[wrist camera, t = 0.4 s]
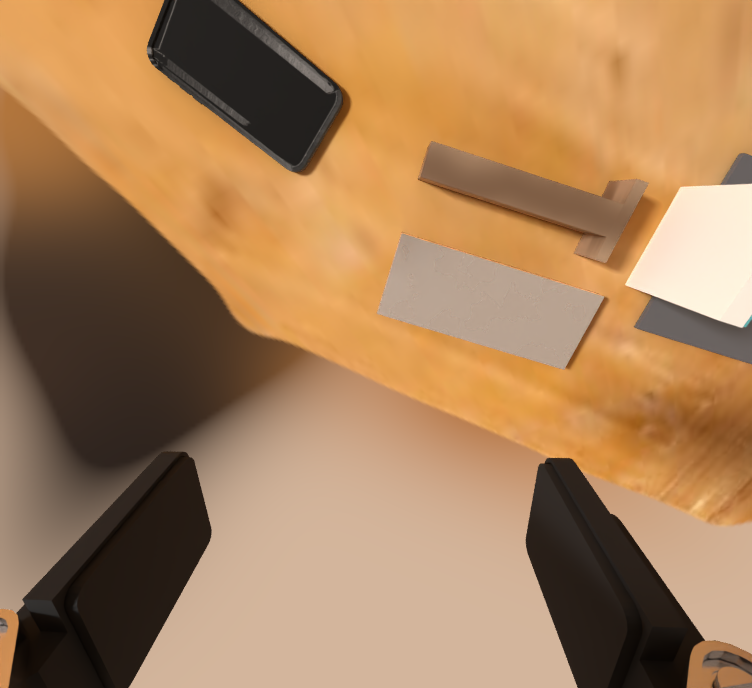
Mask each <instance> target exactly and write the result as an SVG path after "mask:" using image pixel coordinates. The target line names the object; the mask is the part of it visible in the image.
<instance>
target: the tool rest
mask: <svg viewBox="0 0 752 688" xmlns="http://www.w3.org/2000/svg"><path fill="white" fill-rule="evenodd" d="M603 299H604V296H602V295H600V294H597V293H594V292H591V291H588V290H585V289H581V288H578V287H575V286H572V285H569V284H566V283H562V282H559V281H556V280H553V279H550V278H546V277H543V276H540V275H537V274H534V273H530V272H527V271H524V270H521V269H518V268H515V267H511V266H508V265H505V264H502V263H499V262H495V261H492V260H489V259H486V258H483V257H479V256H476V255H473V254H470V253H467V252H463V251H460V250H457V249H454V248H451V247H448V246H444V245H441V244H438V243H435V242H432V241H428V240H425V239H422V238H419V237H416V236H412V235H409V234H406V233H403V232H402V233H401V236H400V239H399V242H398V246H397V249H396V252H395V255H394V259H393V262H392V265H391V268H390V271H389V275H388V278H387V281H386V284H385V288H384V291H383V294H382V297H381V301H380V304H379V307H378V310H377V314H380V315H383V316H386V317H390V318H393V319H396V320H400V321H403V322H406V323H410V324H413V325H416V326H420V327H423V328H426V329H430V330H433V331H436V332H440V333H443V334H446V335H450V336H453V337H456V338H460V339H463V340H466V341H470V342H473V343H476V344H480V345H483V346H487V347H490V348H493V349H497V350H500V351H503V352H507V353H510V354H513V355H517V356H520V357H523V358H527V359H530V360H533V361H537V362H540V363H543V364H547V365H550V366H553V367H557V368H560V369H563V370H564V369H565V367H566V365H567V364H568V362H569V360H570V358H571V356H572V355H573V353H574V351H575V349H576V347H577V346H578V344H579V342H580V340H581V338H582V337H583V335H584V333H585V331H586V329H587V328H588V326H589V324H590V322H591V320H592V319H593V317H594V315H595V313H596V311H597V310H598V308H599V306H600V304H601V302H602V301H603Z"/></svg>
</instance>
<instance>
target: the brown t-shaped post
mask: <svg viewBox="0 0 752 688" xmlns="http://www.w3.org/2000/svg"><path fill="white" fill-rule="evenodd" d="M418 180H421V181H424V182H427V183H430V184H434V185H437V186H440V187H443V188H446V189H449V190H452V191H455V192H458V193H461V194H464V195H468V196H471V197H474V198H477V199H480V200H483V201H486V202H489V203H492V204H495V205H499V206H502V207H505V208H508V209H511V210H514V211H517V212H520V213H523V214H526V215H529V216H533V217H536V218H539V219H542V220H545V221H548V222H551V223H554V224H557V225H560V226H564V227H567V228H570V229H573V230H576V231H579V232H582V233H583V235H582V237H581V239H580V241H579V243H578V245H577V247H576V249H575V251H574V254H578V255H581V256H584V257H587V258H590V259H594V260H597V261H600V262H604V263H606V262H607V260H608V258H609V257H610V255H611V253H612V251H613V249H614V247H615V245H616V244H617V242H618V240H619V238H620V236H621V234H622V232H623V230H624V229H625V227H626V225H627V223H628V221H629V219H630V217H631V216H632V214H633V212H634V210H635V208H636V206H637V204H638V202H639V201H640V199H641V197H642V195H643V193H644V191H645V189H646V188H647V186H648V184H649V183H647V182H644V181H642V180H639V179H631V180H620V181H609V183H608V185H607V187H606V189H605V191H604V193H603V195H602V197H600V196H597V195H594V194H591V193H588V192H585V191H582V190H579V189H576V188H573V187H570V186H567V185H564V184H561V183H558V182H555V181H551V180H548V179H545V178H542V177H539V176H536V175H533V174H530V173H527V172H524V171H521V170H518V169H515V168H512V167H509V166H506V165H503V164H500V163H497V162H494V161H491V160H488V159H485V158H482V157H479V156H476V155H473V154H470V153H467V152H464V151H461V150H458V149H455V148H451V147H448V146H445V145H442V144H439V143H436V142H433V141H431V143H430V145H429V146H428V148H427V151H426V155H425V158H424V161H423V164H422V168H421V171H420V174H419V177H418Z"/></svg>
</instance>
